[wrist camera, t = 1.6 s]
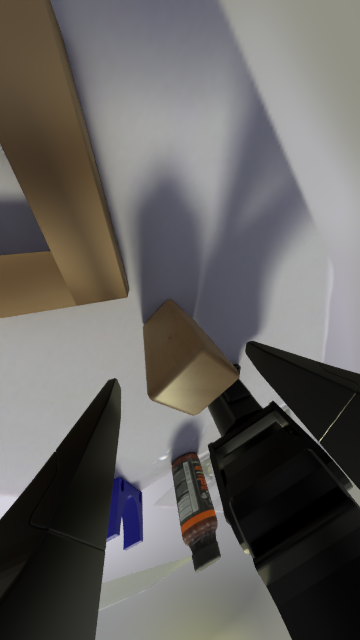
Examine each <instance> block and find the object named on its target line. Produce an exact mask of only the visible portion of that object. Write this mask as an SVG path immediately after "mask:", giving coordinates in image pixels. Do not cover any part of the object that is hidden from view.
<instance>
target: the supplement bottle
mask: <svg viewBox="0 0 360 640" xmlns="http://www.w3.org/2000/svg"><path fill="white" fill-rule="evenodd" d="M172 474H173V480H174V487H175V493H176V500H177V506H178V513H179V518H180V525H181V532H182V537H183V541H184V542H185V544H186V545H187V546H189V547H190V549H191V551H192V554H193V555H192V559H193V564H194V569H195V572H199V571H201V570H203V569H205V568H207V567H208V566H210V565H212V564H213V563H215V562H216V561H217V560H219V559H220V557H221V555H220V551H219V547H218V543H217V541H216V532H215V531H216V529H217V518H216V514H215V511H214V507H213V504H212V501H211V497H210V494H209V491H208V487H207V484H206V481H205V477H204V474H203V470H202V467H201V464H200V461H199V458H198V456H197V455H196V454H194V453H188V454H185V455H183V456H181V457H179V458H178V459H176V460H175V461H174V462H173V465H172Z"/></svg>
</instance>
